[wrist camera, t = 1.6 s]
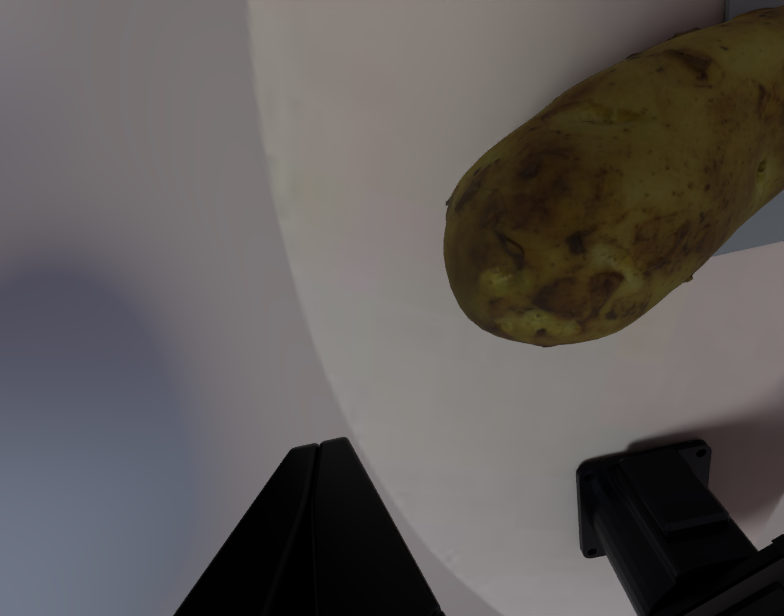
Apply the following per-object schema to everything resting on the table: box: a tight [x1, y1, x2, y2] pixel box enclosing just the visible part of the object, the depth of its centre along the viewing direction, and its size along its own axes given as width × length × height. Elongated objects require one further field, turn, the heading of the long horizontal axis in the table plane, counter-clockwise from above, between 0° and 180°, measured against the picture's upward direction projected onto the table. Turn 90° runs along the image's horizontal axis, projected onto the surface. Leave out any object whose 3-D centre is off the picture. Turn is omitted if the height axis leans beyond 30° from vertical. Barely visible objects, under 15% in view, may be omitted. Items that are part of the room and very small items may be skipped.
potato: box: [444, 5, 784, 347], centre depth 16 cm, size 8×13×8 cm, turn 98°
